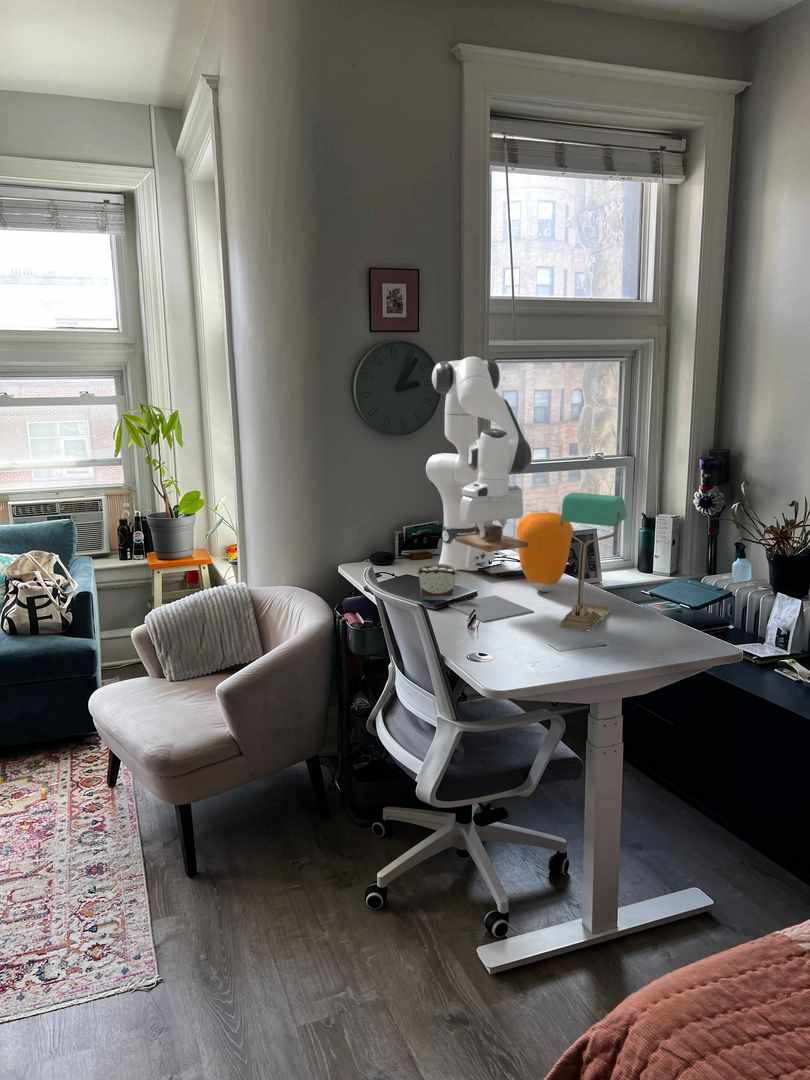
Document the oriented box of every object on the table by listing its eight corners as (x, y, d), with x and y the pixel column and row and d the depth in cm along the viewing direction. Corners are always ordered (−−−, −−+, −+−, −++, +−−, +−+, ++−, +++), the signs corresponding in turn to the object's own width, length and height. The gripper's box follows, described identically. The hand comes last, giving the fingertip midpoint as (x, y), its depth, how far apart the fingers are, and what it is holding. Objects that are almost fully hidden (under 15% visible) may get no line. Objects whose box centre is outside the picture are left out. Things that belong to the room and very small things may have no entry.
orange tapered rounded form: (505, 586, 260) (507, 509, 254) (551, 581, 266) (555, 506, 260) (532, 601, 244) (535, 520, 238) (580, 596, 250) (585, 516, 244)
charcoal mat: (495, 596, 249) (495, 595, 249) (533, 612, 234) (533, 610, 234) (446, 605, 240) (446, 604, 240) (483, 622, 225) (483, 621, 225)
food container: (458, 595, 250) (458, 564, 248) (457, 601, 244) (458, 569, 242) (418, 594, 251) (418, 562, 249) (416, 600, 245) (416, 568, 243)
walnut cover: (494, 536, 243) (494, 519, 242) (528, 546, 229) (529, 528, 228) (455, 540, 236) (455, 523, 235) (488, 552, 222) (488, 533, 221)
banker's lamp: (547, 624, 223) (553, 499, 215) (569, 604, 241) (575, 487, 233) (604, 633, 216) (612, 504, 208) (623, 612, 234) (631, 492, 226)
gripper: (515, 483, 237) (513, 530, 240) (457, 488, 227) (455, 537, 230) (528, 486, 232) (526, 534, 235) (470, 491, 222) (468, 541, 224)
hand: (491, 535), depth 232 cm, fingers closed on walnut cover, 4 cm apart
